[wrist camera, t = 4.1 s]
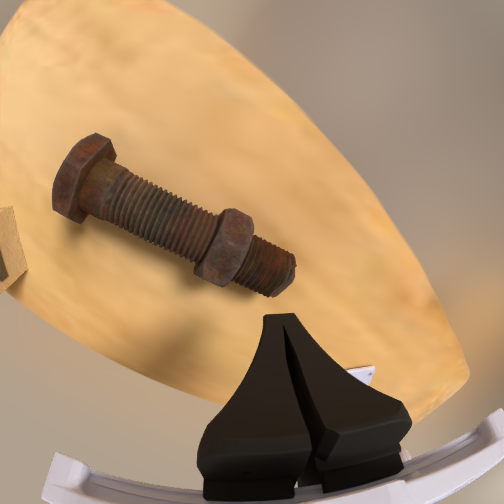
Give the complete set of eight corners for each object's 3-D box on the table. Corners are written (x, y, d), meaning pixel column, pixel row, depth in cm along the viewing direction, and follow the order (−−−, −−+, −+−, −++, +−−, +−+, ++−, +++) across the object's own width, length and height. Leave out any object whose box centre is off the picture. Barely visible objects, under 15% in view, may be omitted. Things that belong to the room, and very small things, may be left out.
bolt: (271, 260, 21) (97, 173, 17) (311, 224, 18) (104, 119, 14) (258, 329, 18) (52, 231, 14) (305, 303, 14) (43, 175, 10)
